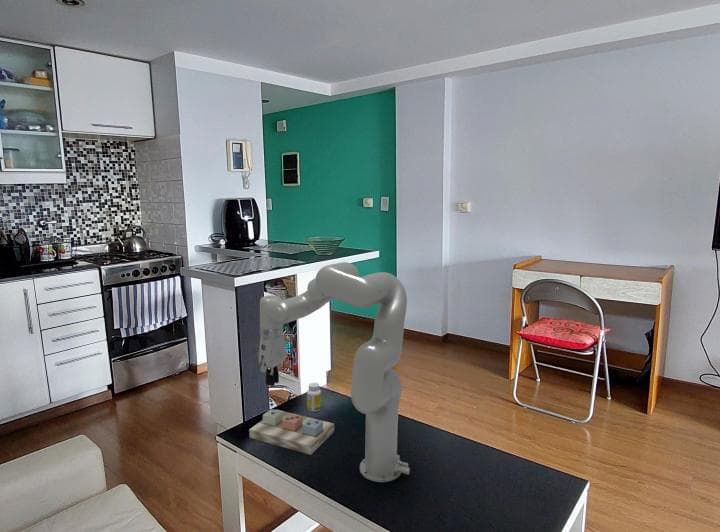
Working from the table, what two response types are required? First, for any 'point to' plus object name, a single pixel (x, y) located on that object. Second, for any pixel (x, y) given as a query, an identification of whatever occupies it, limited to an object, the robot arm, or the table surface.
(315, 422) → the key two dots
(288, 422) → the key three dots
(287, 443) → the key panel
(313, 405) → the supplement bottle
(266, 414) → the key one dot
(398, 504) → the table surface
